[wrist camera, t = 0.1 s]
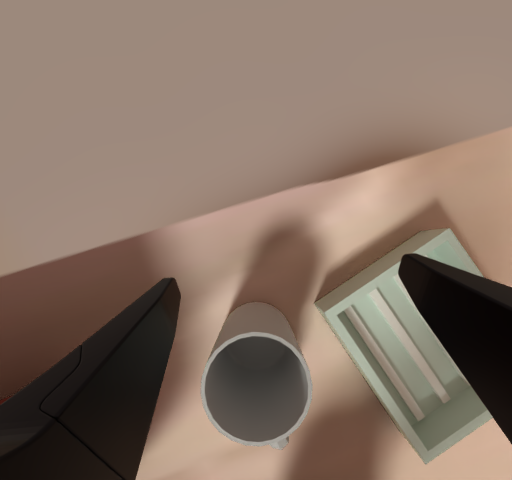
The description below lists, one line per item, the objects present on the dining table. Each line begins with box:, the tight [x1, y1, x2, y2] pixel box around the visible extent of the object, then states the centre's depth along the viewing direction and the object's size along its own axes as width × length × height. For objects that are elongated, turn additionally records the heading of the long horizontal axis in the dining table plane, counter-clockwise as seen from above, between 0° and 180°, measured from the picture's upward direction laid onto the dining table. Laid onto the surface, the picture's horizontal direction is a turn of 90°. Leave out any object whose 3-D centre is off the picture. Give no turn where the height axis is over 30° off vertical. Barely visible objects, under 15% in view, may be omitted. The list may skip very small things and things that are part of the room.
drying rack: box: [314, 228, 493, 464], centre depth 22 cm, size 16×14×4 cm
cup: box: [201, 302, 312, 450], centre depth 19 cm, size 7×10×9 cm
